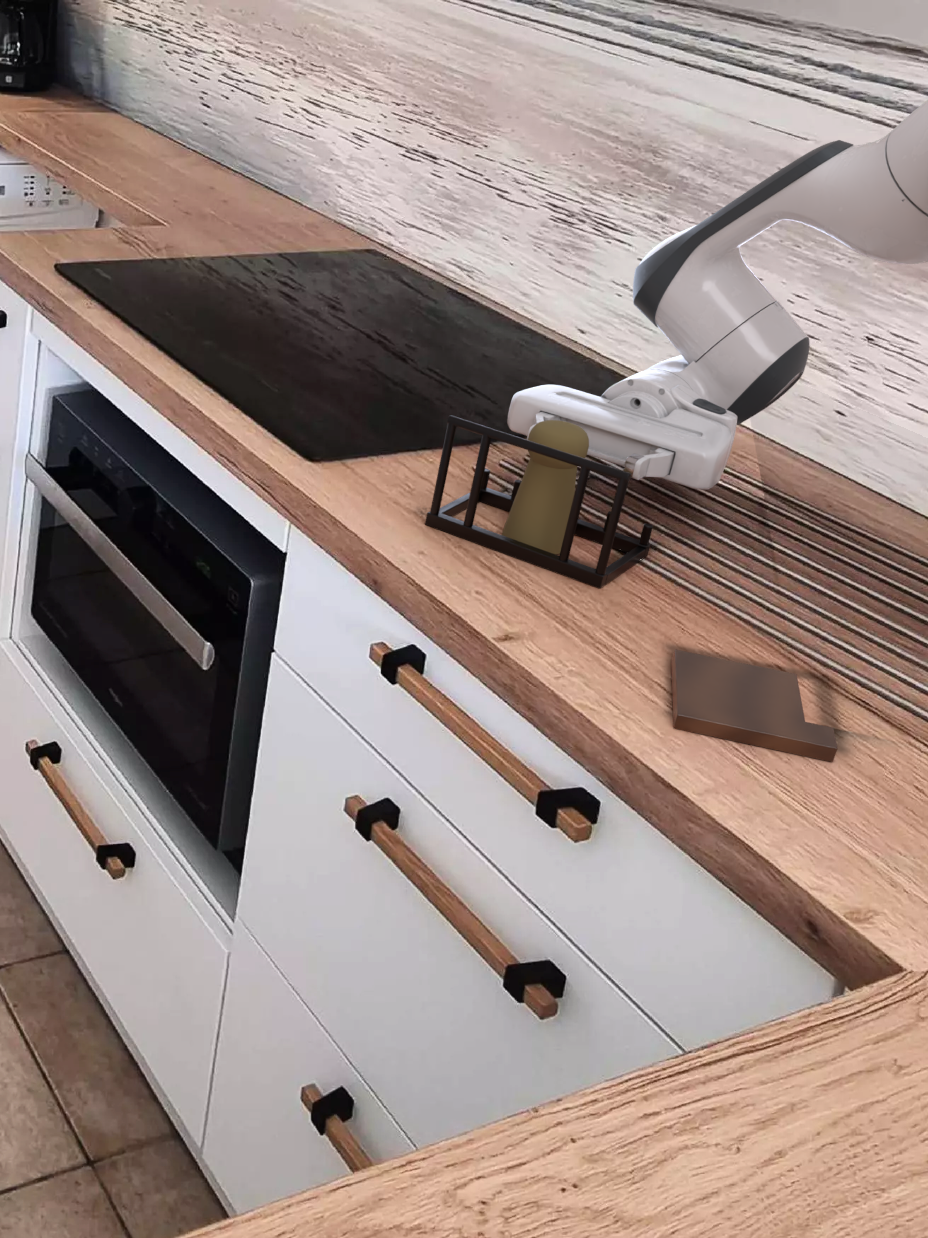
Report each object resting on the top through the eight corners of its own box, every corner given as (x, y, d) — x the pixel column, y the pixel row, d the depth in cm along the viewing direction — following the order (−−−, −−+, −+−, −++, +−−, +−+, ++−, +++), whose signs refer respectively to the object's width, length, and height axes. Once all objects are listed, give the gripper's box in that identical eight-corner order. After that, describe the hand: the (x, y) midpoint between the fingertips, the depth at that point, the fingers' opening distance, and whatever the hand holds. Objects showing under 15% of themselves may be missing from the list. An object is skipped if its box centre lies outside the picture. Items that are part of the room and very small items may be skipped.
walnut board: (818, 692, 128) (823, 679, 127) (833, 762, 119) (837, 748, 118) (670, 662, 130) (674, 648, 130) (673, 728, 121) (677, 714, 120)
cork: (580, 555, 148) (609, 438, 142) (516, 554, 146) (543, 436, 141) (553, 526, 153) (580, 413, 148) (491, 525, 152) (516, 411, 147)
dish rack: (477, 496, 158) (499, 392, 153) (647, 556, 149) (677, 447, 144) (424, 524, 151) (446, 416, 146) (600, 589, 141) (629, 475, 137)
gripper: (551, 360, 164) (485, 389, 155) (755, 419, 153) (698, 454, 143) (537, 421, 167) (472, 452, 157) (737, 483, 156) (680, 521, 146)
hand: (582, 453), depth 150 cm, fingers open, 8 cm apart
